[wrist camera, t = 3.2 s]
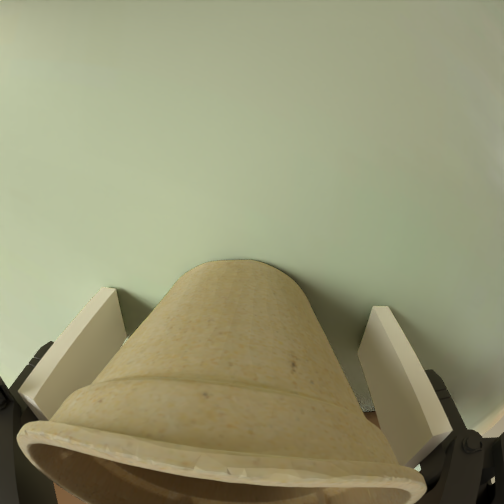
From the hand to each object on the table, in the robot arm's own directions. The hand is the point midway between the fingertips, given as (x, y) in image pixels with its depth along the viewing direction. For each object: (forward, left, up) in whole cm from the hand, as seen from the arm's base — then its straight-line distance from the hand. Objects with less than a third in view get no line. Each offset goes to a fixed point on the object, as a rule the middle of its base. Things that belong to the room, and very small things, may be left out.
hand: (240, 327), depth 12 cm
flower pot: (0, 0, 0) cm, 0 cm away
